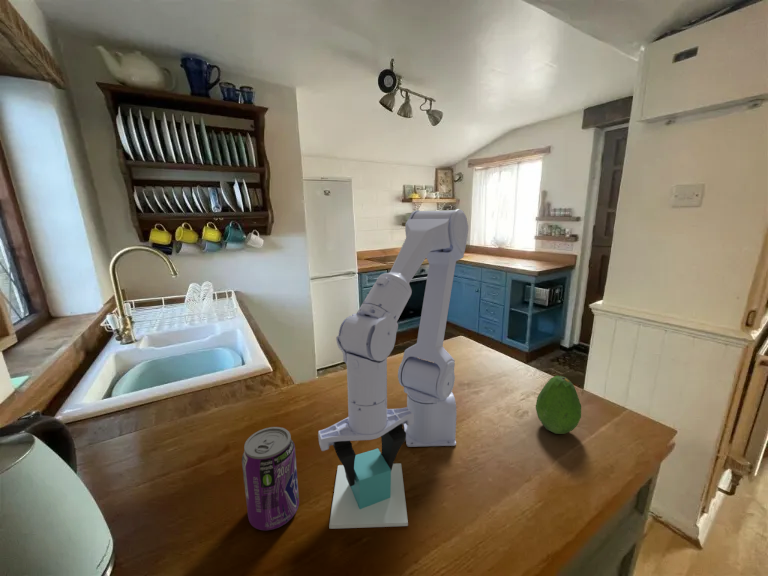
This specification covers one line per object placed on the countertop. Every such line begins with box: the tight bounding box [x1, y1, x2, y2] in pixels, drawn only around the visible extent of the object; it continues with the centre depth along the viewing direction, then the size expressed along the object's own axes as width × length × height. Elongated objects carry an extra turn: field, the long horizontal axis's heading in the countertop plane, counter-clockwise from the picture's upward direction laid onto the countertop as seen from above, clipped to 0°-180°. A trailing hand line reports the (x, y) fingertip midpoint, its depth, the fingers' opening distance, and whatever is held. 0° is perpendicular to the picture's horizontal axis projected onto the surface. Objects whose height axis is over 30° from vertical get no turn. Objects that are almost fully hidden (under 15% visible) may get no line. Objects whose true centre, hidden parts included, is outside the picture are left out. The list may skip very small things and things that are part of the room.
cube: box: [350, 447, 391, 509], centre depth 49 cm, size 5×5×5 cm
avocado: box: [535, 375, 582, 435], centre depth 63 cm, size 8×8×12 cm
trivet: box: [328, 463, 409, 530], centre depth 49 cm, size 11×11×1 cm
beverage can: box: [241, 426, 300, 531], centre depth 45 cm, size 7×7×12 cm
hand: (368, 474), depth 49 cm, fingers open, 5 cm apart
